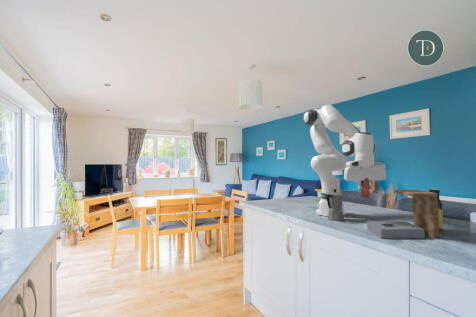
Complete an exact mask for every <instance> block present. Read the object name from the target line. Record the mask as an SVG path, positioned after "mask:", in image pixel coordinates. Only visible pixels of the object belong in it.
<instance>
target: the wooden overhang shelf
mask: <svg viewBox="0 0 476 317" xmlns="http://www.w3.org/2000/svg"><path fill="white" fill-rule="evenodd" d="M394 192H395V193H394V194H398V195H401V196H402V195H403V196H406V197H410V198H412V214H413V215H412V216H413V225H415V226H418V227H420V228H423V229H424V235H425V236H428V237H430V238H432V239H440V231H439V219H438V198H437V193H433V192H429V191H426V190H420V189H395V190H394Z"/></svg>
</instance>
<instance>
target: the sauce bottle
mask: <svg viewBox="0 0 476 317" xmlns="http://www.w3.org/2000/svg"><path fill="white" fill-rule="evenodd" d="M440 190H441V189H439V188H429V189H428V192H433V193H437V198H438V219H439V232H442V231H443V227H444V226H443V225H444V224H443V223H444V222H443V220H444V219H443V218H444V216H443V215H444V214H443V213H444V212H443V210H444V209H443V203H442V201H441V198H440V192H441V191H440Z"/></svg>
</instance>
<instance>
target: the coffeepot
mask: <svg viewBox="0 0 476 317" xmlns="http://www.w3.org/2000/svg"><path fill="white" fill-rule="evenodd" d="M333 190H334V192H332V193H328V194H327V202H328V206H329V215H328V216H327V219H328V220H329V221H332V222H342V221H344V220H345V215H343V211H342V201H343V199H344V193H341V192H340V193H337V192H336V189H333ZM343 202H344V201H343Z"/></svg>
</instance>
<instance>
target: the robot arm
mask: <svg viewBox="0 0 476 317" xmlns="http://www.w3.org/2000/svg"><path fill="white" fill-rule="evenodd" d="M302 120H303V122H304V124H305V125H308V126H311V127H310V128H309V134H310V138H311V142H312V145H313V147H314V150H315V151H316V152H317V153H318V154H319V155H315V156H312V158H311V160H310V166H311V169H312V170H313V171H314V172H316V174H317V175H318V177H319V179H320V185H321V193H320V200H319V202H318V203H316V207H317V208H316V209H315V213H316V216H317V215H318V216H324V217H328V215H329V206H328V202H327V194H328V193H332V192H334V190H333V189H336V192H337V193H341V188H340V187H341V186H340V184H341V183H340V180H339V179H338V178H337V177H335V176H334V174H333V172H341V171H344V172H343V179H344V180H345V181H347V182H348V181H349V182H351V181H353V182H355V184H356V186H357V189H358V190H361V189H362V186H361V181H364V179H365V178H368V179H369V184H370V190H373V189H374V187H373V186H375V183H376V181H386V180H387V173H386V172H387V171H386V169H387V168H386V167H387V166H386V164H385V163H384V162H375V156H374V153H375V152H376V144H375V142H374V137H373V134H372V133H371V132H367V131H360V130H359V128H358V127H356V126H355V125H354V123H351V122H350V121H349V120H347V119H346V118H345V117H344V115H342V114H341V113H340V111H339V110H338V109H336V107H334V106H333V105H331V104H325V105H323V106H321V107H320V108H314V109H308V110H306V111H304V113H303V119H302ZM327 129H328V131H330V132H332V133H338V134H339V133H340V134H344V135H346V136H348V137H349V138H348V139H346V140H344V141H343V142H342V144H341V147H340V150H341V152H339V151H338V150H337V149H336V147H334V145H333V144H332V141H331V139H330V137H329V134H328V132H327ZM349 157H350V158H351V157H352V158H353V157H354V159H352V160H350V161H349V159H348V158H349ZM344 205H345V204H344V201H342V211H343V216H346V215H347V213H348V212H345V206H344Z"/></svg>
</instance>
